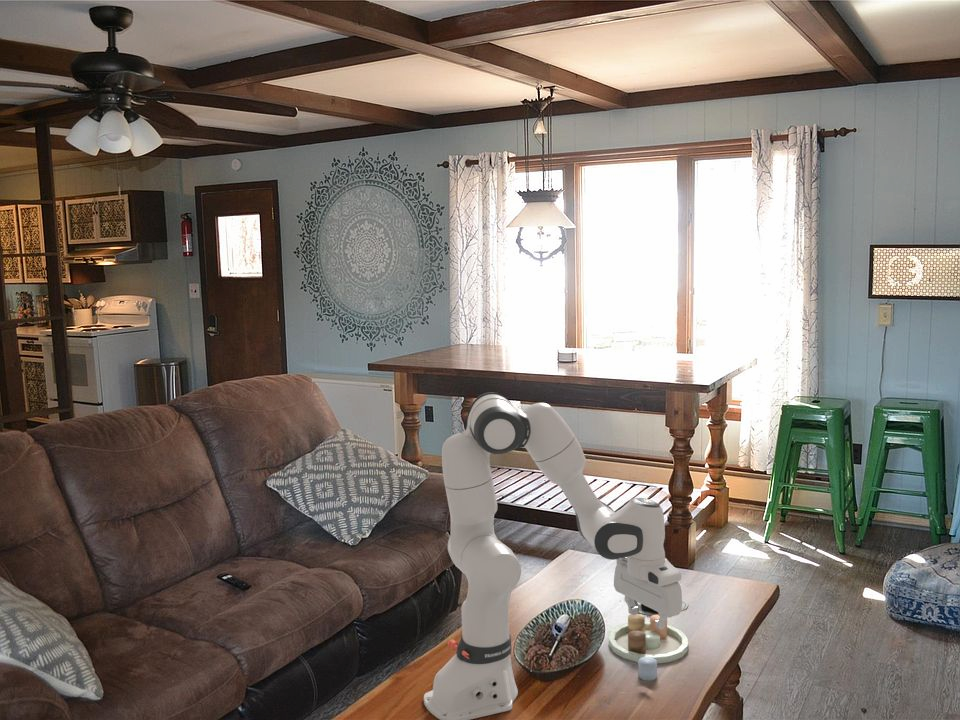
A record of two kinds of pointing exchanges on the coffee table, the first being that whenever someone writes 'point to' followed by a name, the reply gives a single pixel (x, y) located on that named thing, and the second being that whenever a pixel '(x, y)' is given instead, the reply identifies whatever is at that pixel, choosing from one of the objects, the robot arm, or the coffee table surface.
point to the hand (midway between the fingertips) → (646, 620)
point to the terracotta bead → (653, 628)
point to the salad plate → (650, 611)
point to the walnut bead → (637, 642)
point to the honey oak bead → (636, 623)
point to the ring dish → (650, 644)
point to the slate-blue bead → (647, 668)
